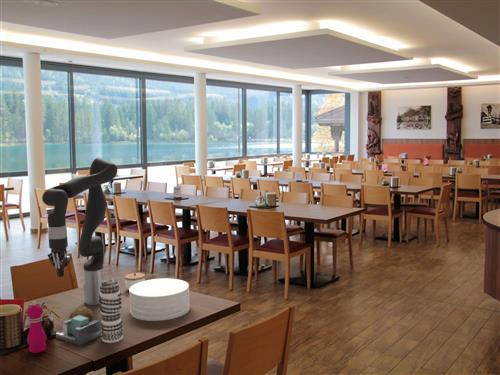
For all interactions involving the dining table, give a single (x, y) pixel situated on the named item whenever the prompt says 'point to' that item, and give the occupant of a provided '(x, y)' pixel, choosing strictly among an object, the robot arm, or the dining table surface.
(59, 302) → the dining table surface
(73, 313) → the bread roll
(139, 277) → the lidded jar
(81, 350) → the dining table surface
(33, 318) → the pepper mill
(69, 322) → the bar
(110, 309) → the white patterned cylinder
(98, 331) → the vise
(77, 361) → the dining table surface
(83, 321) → the teal block
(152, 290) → the plate stack
